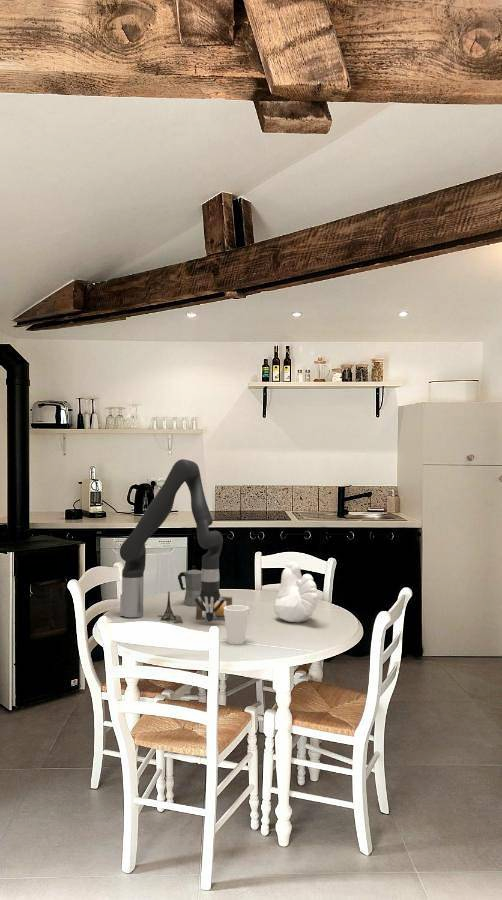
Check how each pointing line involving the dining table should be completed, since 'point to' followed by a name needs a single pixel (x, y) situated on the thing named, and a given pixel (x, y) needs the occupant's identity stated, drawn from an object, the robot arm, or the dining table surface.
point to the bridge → (227, 599)
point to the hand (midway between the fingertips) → (209, 621)
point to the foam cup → (236, 623)
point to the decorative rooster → (295, 595)
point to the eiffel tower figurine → (170, 614)
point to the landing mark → (214, 617)
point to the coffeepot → (191, 585)
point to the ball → (220, 610)
